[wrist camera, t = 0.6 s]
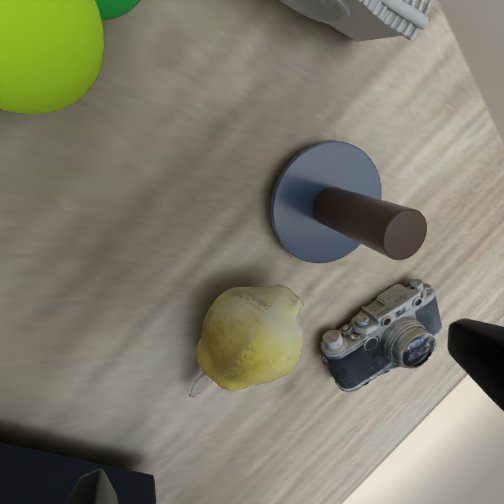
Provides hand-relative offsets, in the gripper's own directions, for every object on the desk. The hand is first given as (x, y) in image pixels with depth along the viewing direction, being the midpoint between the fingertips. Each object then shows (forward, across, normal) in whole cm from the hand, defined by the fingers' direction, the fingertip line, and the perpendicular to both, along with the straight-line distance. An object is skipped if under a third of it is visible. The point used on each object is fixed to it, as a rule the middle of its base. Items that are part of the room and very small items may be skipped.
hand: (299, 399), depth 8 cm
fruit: (+14, -1, +7) cm, 15 cm away
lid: (+13, -8, 0) cm, 15 cm away
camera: (+14, -12, +11) cm, 21 cm away
